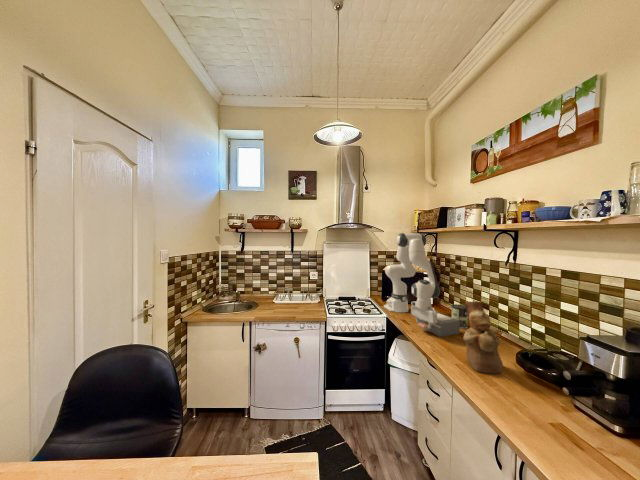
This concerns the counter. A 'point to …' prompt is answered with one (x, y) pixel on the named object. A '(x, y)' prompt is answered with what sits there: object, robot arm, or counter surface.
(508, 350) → the counter surface
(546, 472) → the counter surface
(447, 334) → the dispenser
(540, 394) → the counter surface
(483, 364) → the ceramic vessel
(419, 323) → the ticket
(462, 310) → the coffee can
